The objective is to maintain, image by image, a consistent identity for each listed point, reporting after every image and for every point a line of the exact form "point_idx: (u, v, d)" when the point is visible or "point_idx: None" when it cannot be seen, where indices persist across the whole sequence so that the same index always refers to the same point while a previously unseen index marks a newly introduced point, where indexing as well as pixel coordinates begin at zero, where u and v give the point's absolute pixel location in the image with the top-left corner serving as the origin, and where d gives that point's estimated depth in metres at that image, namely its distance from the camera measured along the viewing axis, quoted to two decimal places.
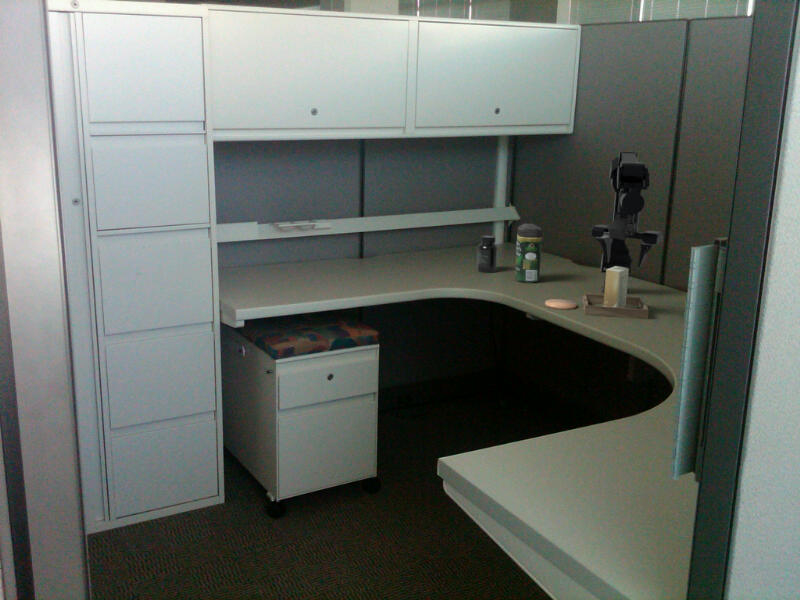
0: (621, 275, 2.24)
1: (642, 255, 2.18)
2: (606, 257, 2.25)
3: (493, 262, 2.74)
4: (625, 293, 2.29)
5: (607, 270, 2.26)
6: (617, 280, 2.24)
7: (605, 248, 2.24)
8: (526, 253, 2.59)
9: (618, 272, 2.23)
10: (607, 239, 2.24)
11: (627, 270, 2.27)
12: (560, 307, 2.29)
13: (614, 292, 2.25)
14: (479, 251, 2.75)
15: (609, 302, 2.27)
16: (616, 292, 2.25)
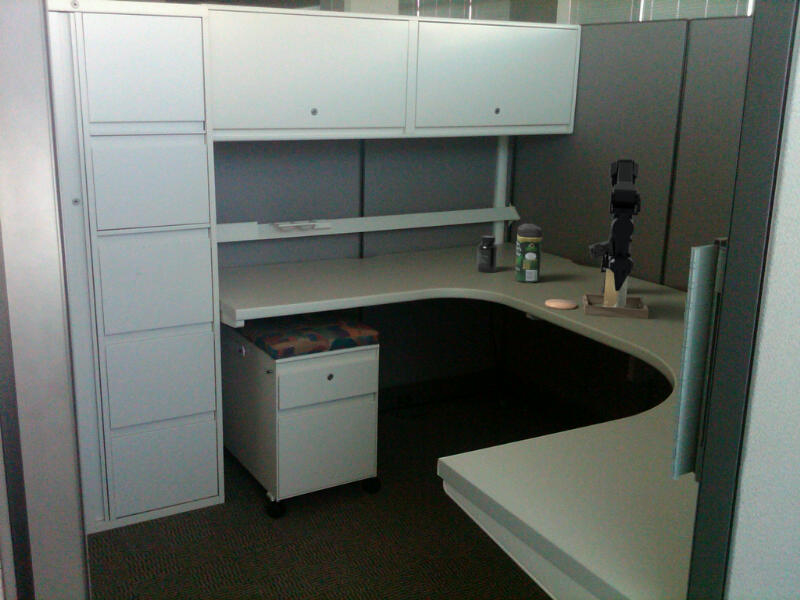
0: None
1: (614, 278, 2.23)
2: None
3: (493, 262, 2.74)
4: (625, 293, 2.29)
5: (607, 270, 2.26)
6: None
7: None
8: (526, 253, 2.59)
9: None
10: None
11: None
12: (560, 307, 2.29)
13: (614, 292, 2.25)
14: (479, 251, 2.75)
15: (609, 302, 2.27)
16: (617, 292, 2.25)
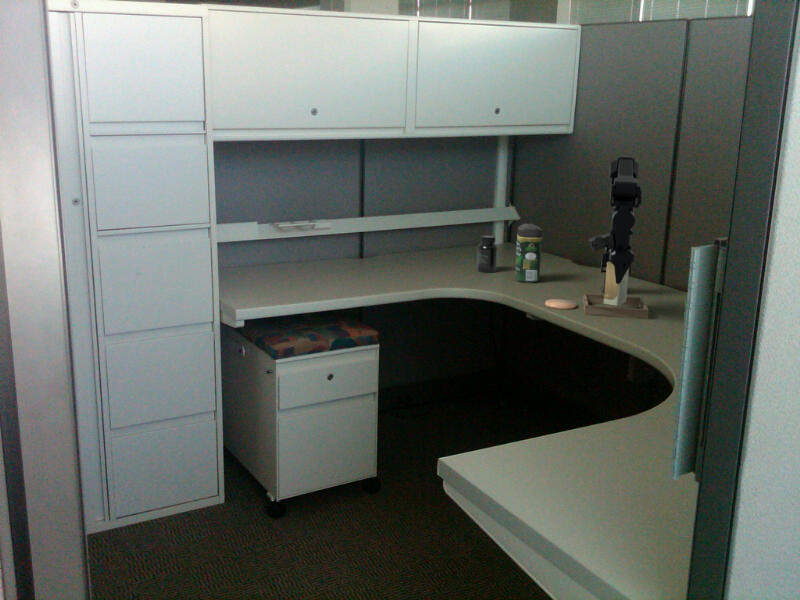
0: None
1: None
2: None
3: (493, 262, 2.74)
4: (626, 286, 2.28)
5: (608, 263, 2.25)
6: None
7: None
8: (526, 253, 2.59)
9: None
10: None
11: None
12: (560, 307, 2.29)
13: (615, 285, 2.25)
14: (479, 251, 2.75)
15: (610, 295, 2.26)
16: (617, 285, 2.24)
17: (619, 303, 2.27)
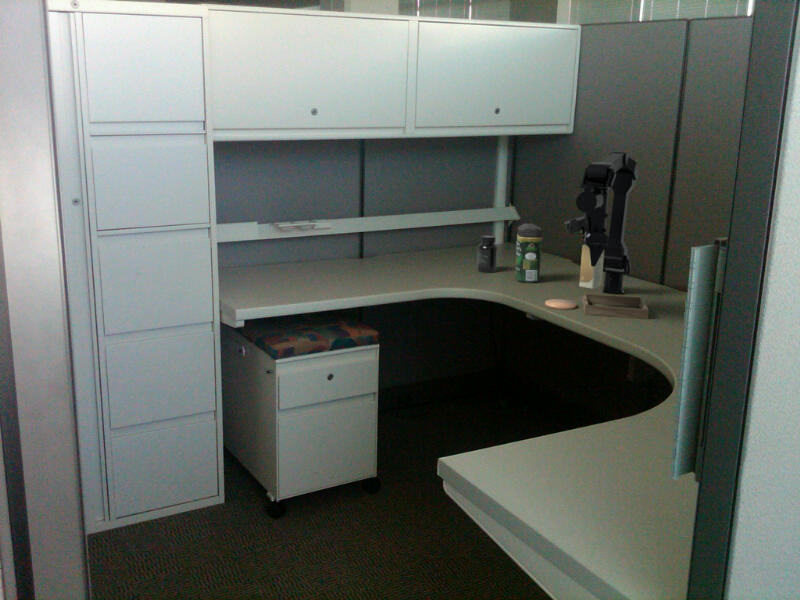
0: None
1: (590, 254, 2.23)
2: None
3: (493, 262, 2.74)
4: (601, 269, 2.29)
5: (583, 246, 2.25)
6: None
7: None
8: (526, 253, 2.59)
9: None
10: None
11: None
12: (560, 307, 2.29)
13: (590, 267, 2.25)
14: (479, 251, 2.75)
15: (585, 278, 2.27)
16: (593, 267, 2.25)
17: (595, 286, 2.27)
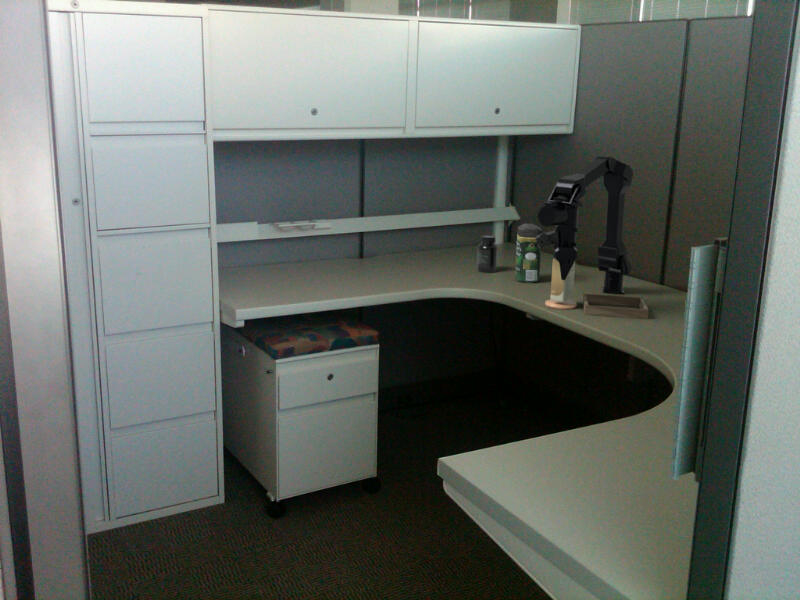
0: None
1: None
2: None
3: (493, 262, 2.74)
4: (572, 282, 2.32)
5: (553, 259, 2.29)
6: None
7: None
8: (526, 253, 2.59)
9: None
10: None
11: None
12: (560, 307, 2.29)
13: (560, 281, 2.28)
14: (479, 251, 2.75)
15: (556, 291, 2.30)
16: (563, 281, 2.28)
17: (565, 299, 2.30)
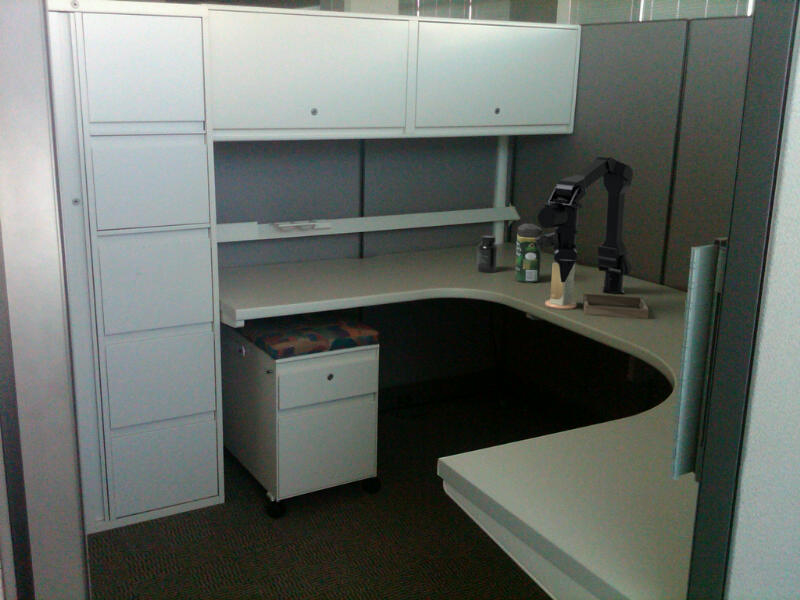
0: None
1: None
2: None
3: (493, 262, 2.74)
4: (572, 286, 2.32)
5: (553, 263, 2.29)
6: None
7: None
8: (526, 253, 2.59)
9: None
10: None
11: None
12: (560, 307, 2.29)
13: (560, 285, 2.28)
14: (479, 251, 2.75)
15: (556, 295, 2.30)
16: (562, 285, 2.28)
17: (565, 303, 2.30)
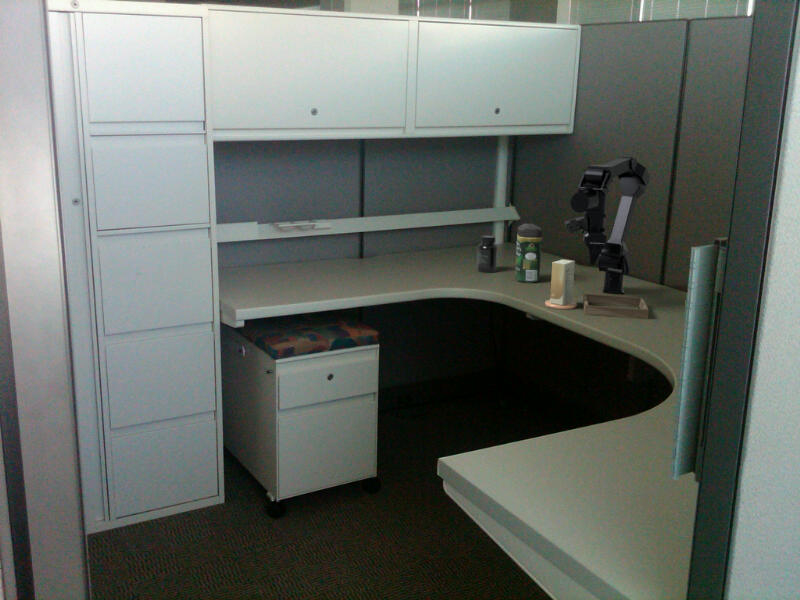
0: (566, 267, 2.28)
1: (589, 253, 2.31)
2: (588, 253, 2.42)
3: (493, 262, 2.74)
4: (571, 285, 2.32)
5: (553, 263, 2.29)
6: (563, 272, 2.27)
7: None
8: (526, 253, 2.59)
9: (563, 265, 2.27)
10: None
11: (573, 263, 2.30)
12: (560, 307, 2.29)
13: (560, 284, 2.29)
14: (479, 251, 2.75)
15: (556, 295, 2.30)
16: (562, 284, 2.28)
17: (565, 302, 2.30)
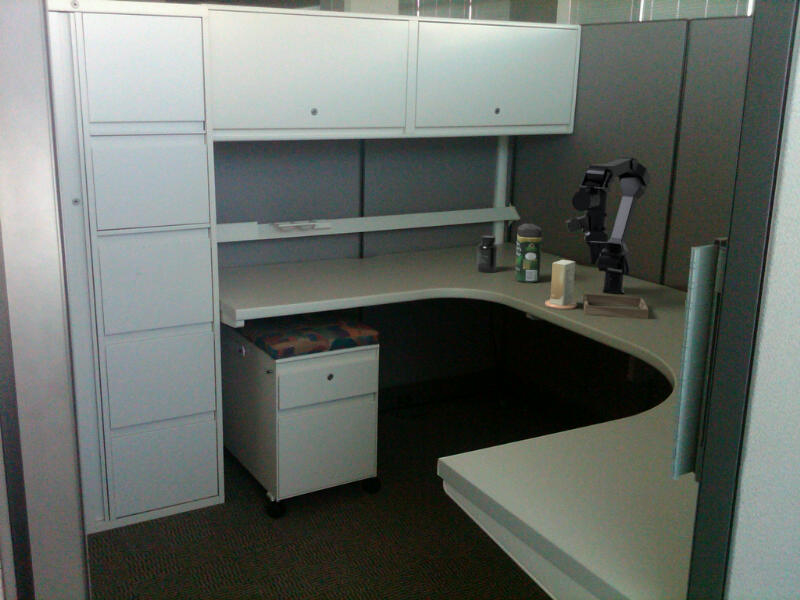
0: (567, 268, 2.27)
1: (590, 252, 2.32)
2: (589, 252, 2.42)
3: (493, 262, 2.74)
4: (572, 286, 2.32)
5: (553, 263, 2.29)
6: (563, 273, 2.27)
7: None
8: (526, 253, 2.59)
9: (564, 265, 2.27)
10: None
11: (573, 263, 2.30)
12: (560, 307, 2.29)
13: (560, 285, 2.28)
14: (479, 251, 2.75)
15: (556, 295, 2.30)
16: (562, 285, 2.28)
17: (565, 303, 2.30)
